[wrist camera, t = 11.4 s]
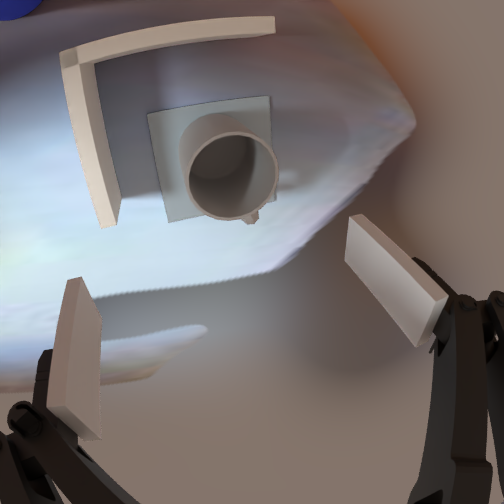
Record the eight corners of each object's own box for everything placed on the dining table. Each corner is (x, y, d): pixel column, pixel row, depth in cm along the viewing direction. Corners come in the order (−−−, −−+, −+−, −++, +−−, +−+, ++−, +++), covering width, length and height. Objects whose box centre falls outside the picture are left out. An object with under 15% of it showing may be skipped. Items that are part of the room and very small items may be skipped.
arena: (108, 200, 31) (101, 228, 26) (76, 53, 22) (58, 52, 17) (263, 169, 34) (283, 190, 29) (253, 23, 25) (274, 16, 20)
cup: (232, 100, 28) (259, 115, 21) (267, 182, 35) (300, 221, 27) (164, 134, 29) (167, 160, 21) (208, 212, 35) (225, 259, 28)
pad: (168, 221, 34) (168, 222, 34) (146, 113, 27) (146, 114, 27) (273, 200, 36) (274, 201, 36) (268, 95, 29) (269, 95, 29)
